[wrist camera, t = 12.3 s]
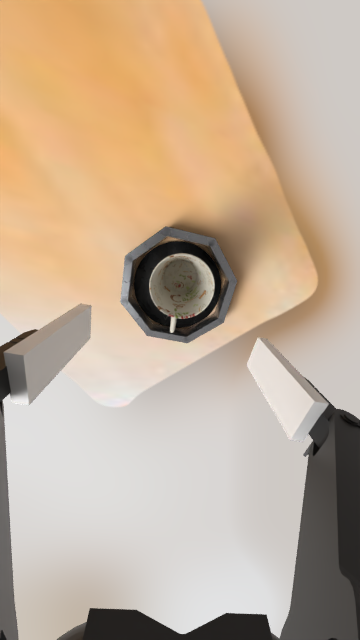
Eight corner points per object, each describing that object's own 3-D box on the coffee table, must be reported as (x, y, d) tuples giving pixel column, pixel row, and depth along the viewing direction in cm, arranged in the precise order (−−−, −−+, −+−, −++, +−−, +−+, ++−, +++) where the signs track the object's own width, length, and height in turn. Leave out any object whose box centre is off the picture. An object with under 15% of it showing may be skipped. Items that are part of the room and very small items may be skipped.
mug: (208, 254, 32) (221, 258, 22) (195, 322, 36) (202, 349, 27) (159, 247, 31) (151, 248, 22) (152, 317, 36) (144, 342, 26)
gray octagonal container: (133, 220, 30) (129, 217, 27) (242, 246, 32) (248, 246, 29) (121, 323, 36) (117, 330, 34) (212, 340, 38) (215, 348, 35)
